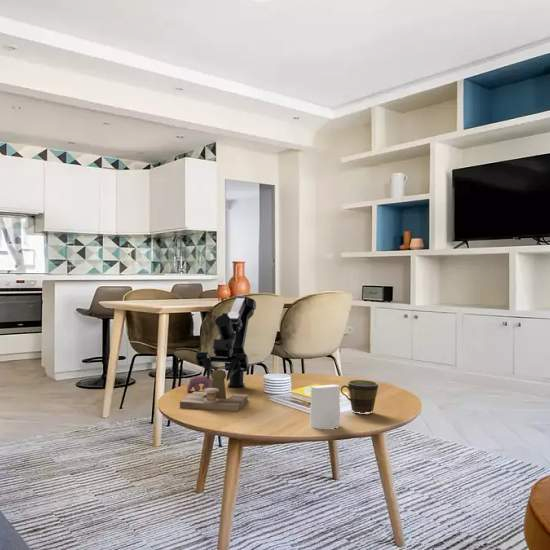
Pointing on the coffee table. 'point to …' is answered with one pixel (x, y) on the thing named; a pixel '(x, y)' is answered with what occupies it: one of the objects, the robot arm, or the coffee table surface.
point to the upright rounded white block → (325, 406)
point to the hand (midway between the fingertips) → (217, 379)
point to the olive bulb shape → (219, 383)
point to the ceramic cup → (362, 395)
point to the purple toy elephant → (199, 380)
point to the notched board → (213, 401)
